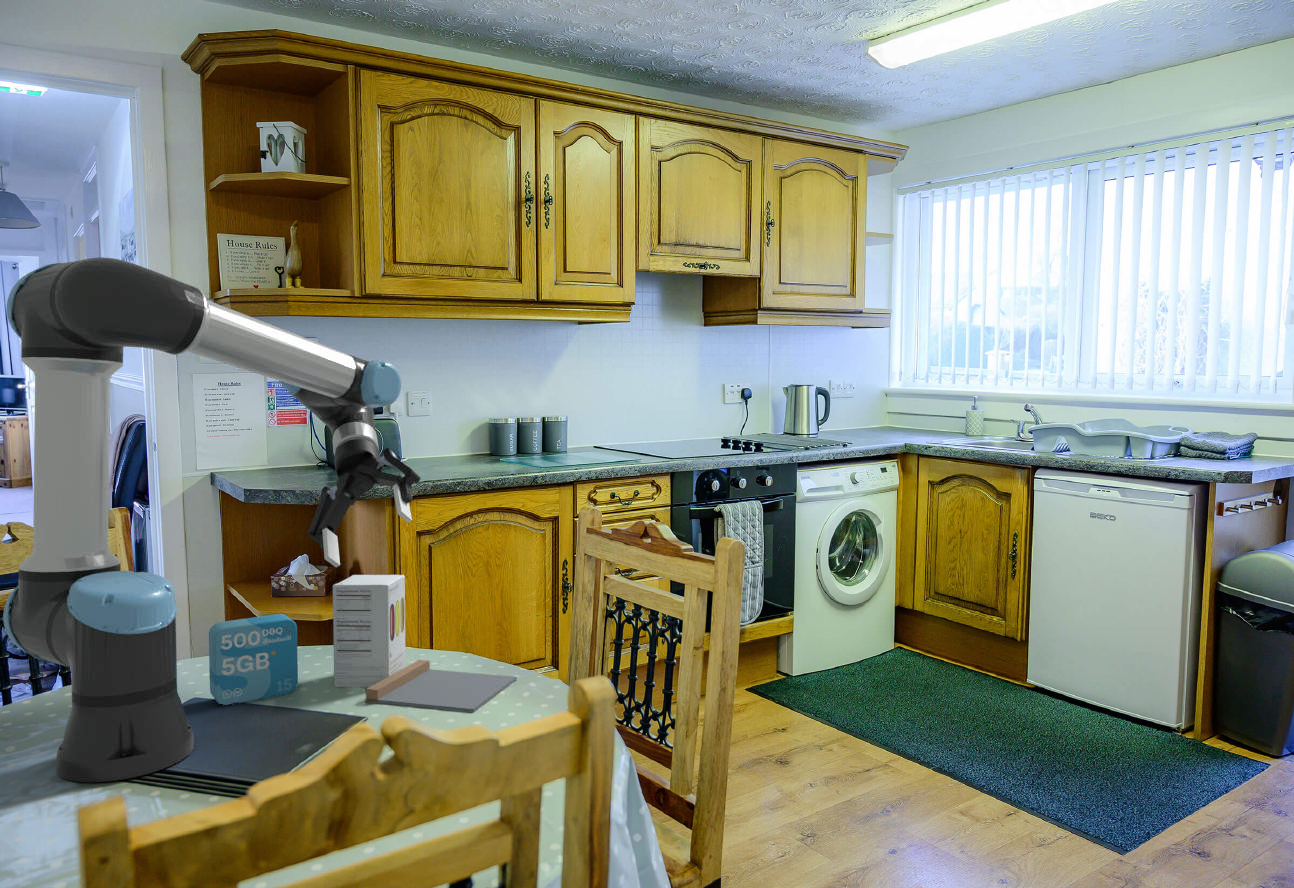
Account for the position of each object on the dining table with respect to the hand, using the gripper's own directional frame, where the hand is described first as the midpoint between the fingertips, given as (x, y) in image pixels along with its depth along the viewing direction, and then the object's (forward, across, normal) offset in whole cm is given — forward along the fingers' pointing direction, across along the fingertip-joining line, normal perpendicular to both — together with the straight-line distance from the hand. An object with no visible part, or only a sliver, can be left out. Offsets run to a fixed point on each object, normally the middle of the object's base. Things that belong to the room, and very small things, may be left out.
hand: (368, 539), depth 136 cm
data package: (+9, +28, -8) cm, 31 cm away
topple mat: (+16, +4, -22) cm, 27 cm away
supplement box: (+8, +16, -20) cm, 26 cm away
